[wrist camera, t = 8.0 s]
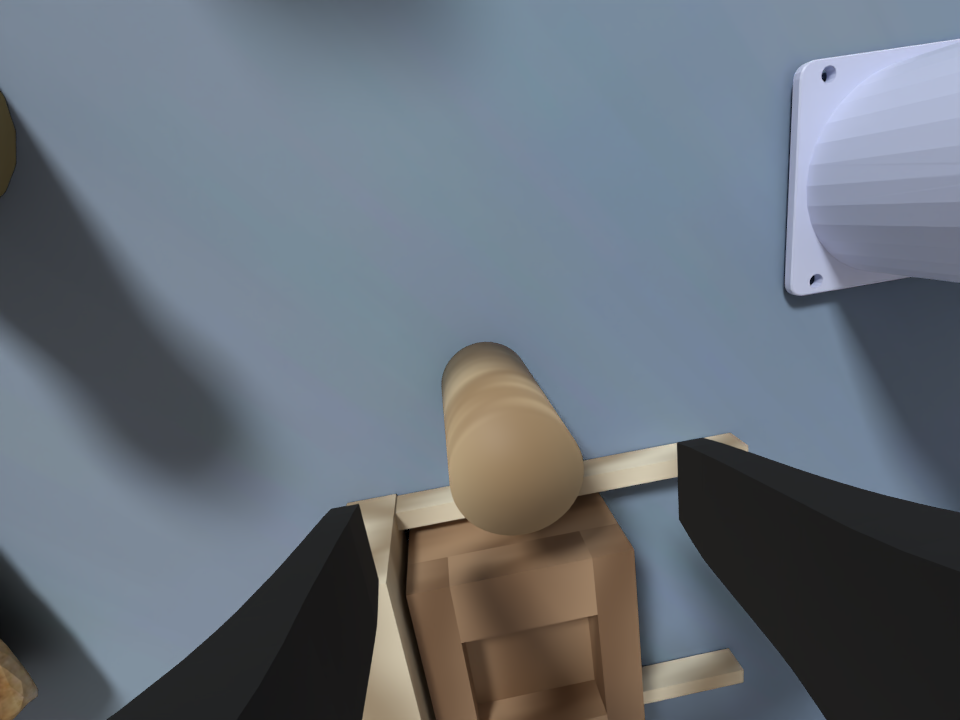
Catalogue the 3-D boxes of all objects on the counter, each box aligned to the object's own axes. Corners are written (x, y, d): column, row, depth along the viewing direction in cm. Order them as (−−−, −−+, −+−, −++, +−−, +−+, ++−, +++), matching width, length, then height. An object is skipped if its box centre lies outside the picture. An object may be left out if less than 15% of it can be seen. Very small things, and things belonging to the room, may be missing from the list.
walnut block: (595, 487, 20) (634, 549, 17) (611, 664, 23) (646, 750, 20) (409, 523, 20) (405, 595, 16) (449, 698, 23) (454, 794, 19)
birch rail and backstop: (730, 430, 20) (822, 495, 16) (728, 662, 24) (801, 770, 19) (347, 503, 19) (320, 595, 15) (408, 731, 23) (404, 863, 19)
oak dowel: (522, 335, 18) (577, 402, 12) (533, 416, 19) (589, 521, 13) (434, 350, 18) (438, 428, 11) (449, 431, 19) (461, 546, 12)
